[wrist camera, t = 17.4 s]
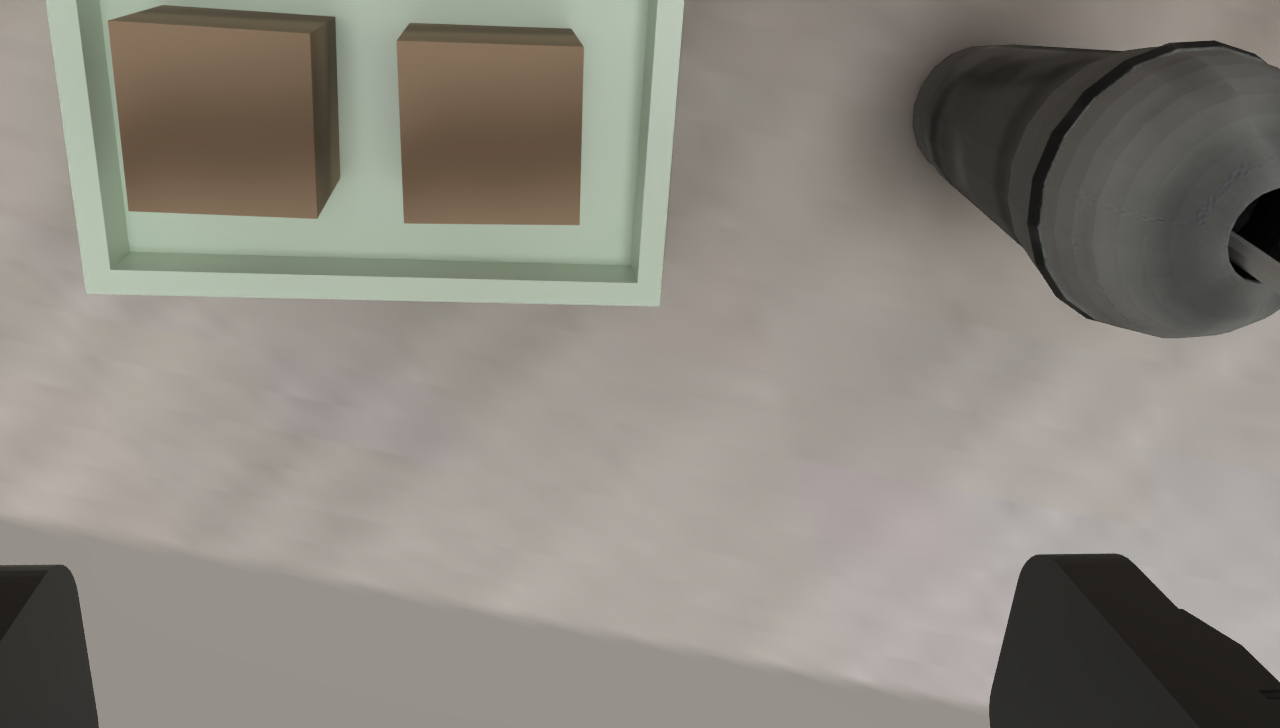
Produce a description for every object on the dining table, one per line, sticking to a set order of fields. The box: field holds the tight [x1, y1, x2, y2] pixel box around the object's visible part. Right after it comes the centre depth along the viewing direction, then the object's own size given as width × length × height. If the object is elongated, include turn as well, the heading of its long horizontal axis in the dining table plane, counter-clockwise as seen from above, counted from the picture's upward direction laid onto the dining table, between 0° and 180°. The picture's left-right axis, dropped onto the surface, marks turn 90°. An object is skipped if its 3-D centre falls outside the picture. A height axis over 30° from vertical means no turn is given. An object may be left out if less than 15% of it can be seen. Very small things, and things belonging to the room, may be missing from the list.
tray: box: [46, 0, 684, 307], centre depth 33 cm, size 12×18×2 cm, turn 86°
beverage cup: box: [913, 41, 1280, 338], centre depth 28 cm, size 7×7×20 cm
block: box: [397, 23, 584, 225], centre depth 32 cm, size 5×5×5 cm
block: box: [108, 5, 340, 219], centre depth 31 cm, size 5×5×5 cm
